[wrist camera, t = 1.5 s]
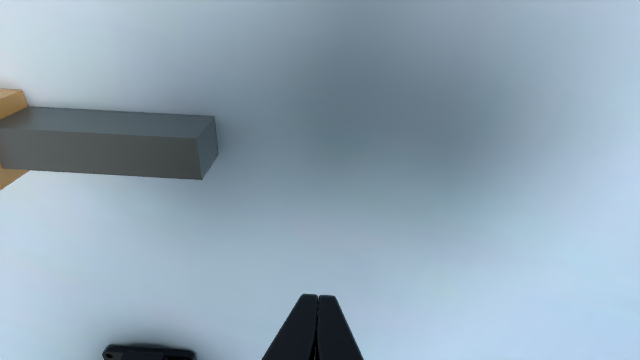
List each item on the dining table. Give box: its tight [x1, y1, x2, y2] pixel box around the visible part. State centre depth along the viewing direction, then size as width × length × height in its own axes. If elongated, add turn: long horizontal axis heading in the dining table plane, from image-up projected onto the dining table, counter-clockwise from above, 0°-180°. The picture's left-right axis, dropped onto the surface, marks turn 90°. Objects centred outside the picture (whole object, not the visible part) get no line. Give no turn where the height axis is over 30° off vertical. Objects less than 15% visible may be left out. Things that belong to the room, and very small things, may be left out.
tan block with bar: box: [0, 89, 218, 190], centre depth 17 cm, size 4×13×3 cm, turn 88°
